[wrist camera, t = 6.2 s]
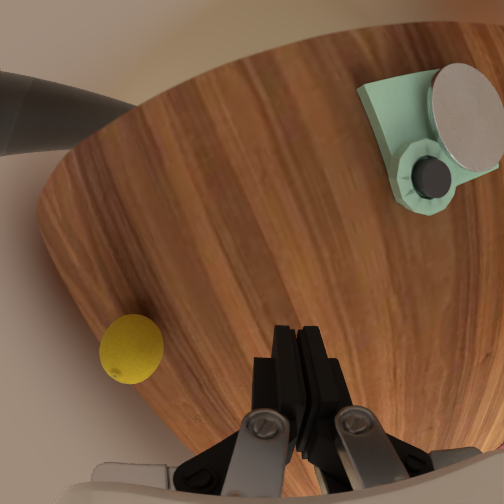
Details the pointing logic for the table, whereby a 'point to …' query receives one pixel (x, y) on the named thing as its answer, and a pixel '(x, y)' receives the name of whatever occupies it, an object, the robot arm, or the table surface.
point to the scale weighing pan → (466, 117)
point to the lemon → (131, 348)
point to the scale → (408, 137)
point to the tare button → (432, 178)
